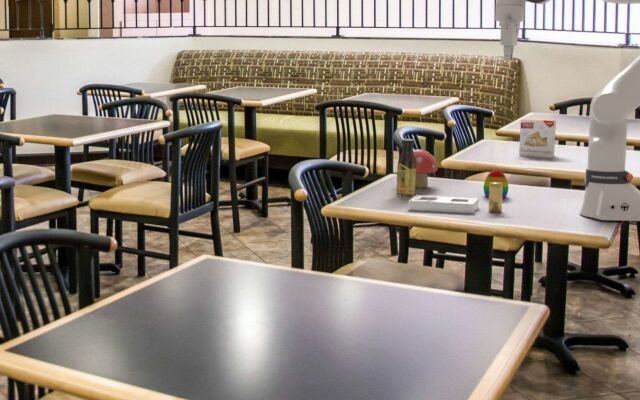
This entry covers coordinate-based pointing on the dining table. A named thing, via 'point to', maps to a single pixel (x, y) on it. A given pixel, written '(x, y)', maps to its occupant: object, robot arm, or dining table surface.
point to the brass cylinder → (495, 197)
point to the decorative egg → (496, 177)
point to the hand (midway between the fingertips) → (508, 60)
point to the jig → (443, 204)
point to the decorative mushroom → (423, 167)
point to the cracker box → (537, 138)
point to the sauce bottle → (406, 169)
